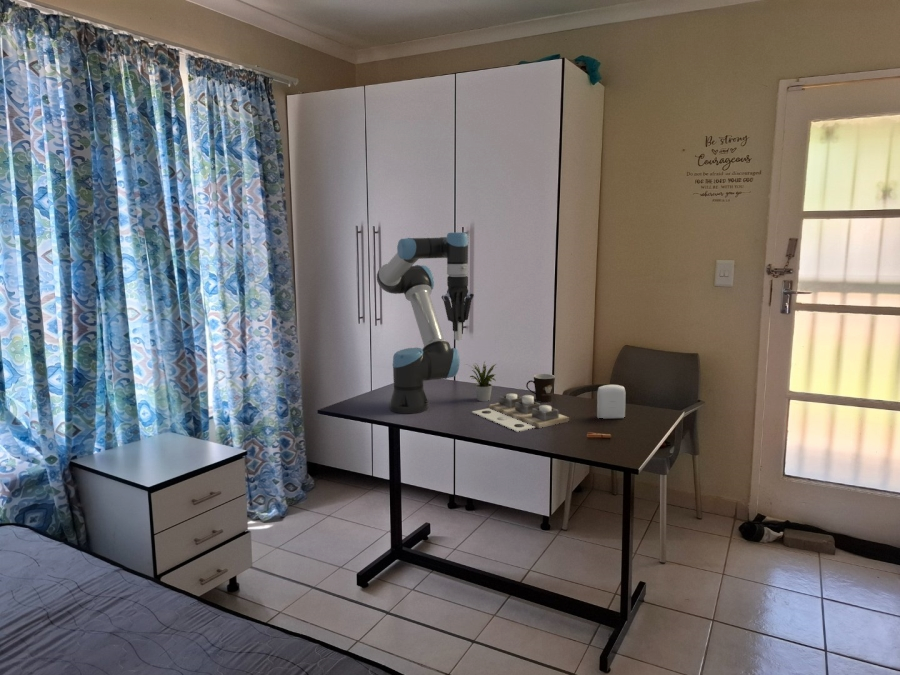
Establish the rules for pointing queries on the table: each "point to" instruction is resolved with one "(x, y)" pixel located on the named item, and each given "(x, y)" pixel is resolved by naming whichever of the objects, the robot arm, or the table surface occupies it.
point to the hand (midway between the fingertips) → (458, 339)
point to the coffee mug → (543, 387)
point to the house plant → (483, 383)
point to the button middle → (527, 400)
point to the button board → (528, 412)
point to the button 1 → (511, 396)
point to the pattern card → (503, 419)
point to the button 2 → (545, 408)
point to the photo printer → (611, 401)
